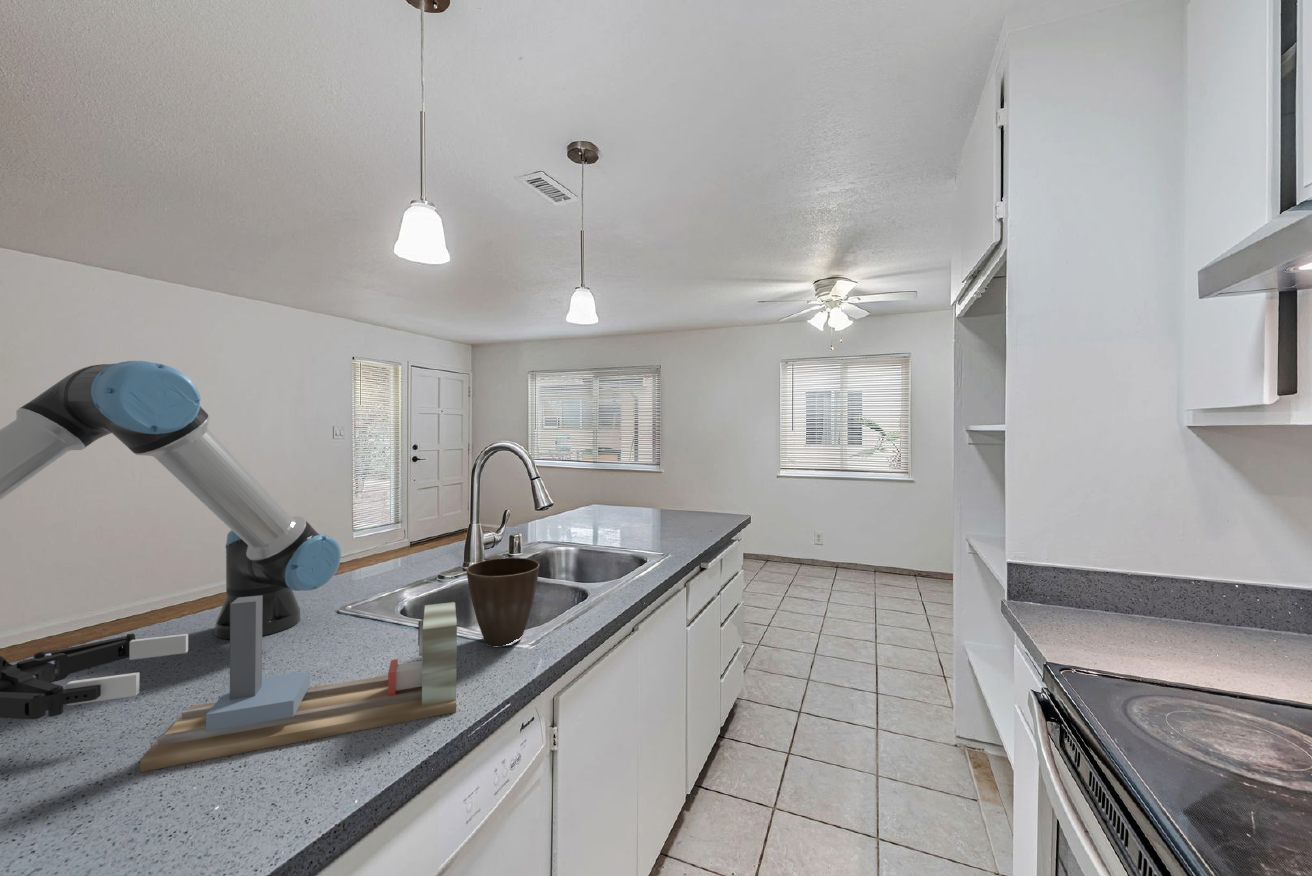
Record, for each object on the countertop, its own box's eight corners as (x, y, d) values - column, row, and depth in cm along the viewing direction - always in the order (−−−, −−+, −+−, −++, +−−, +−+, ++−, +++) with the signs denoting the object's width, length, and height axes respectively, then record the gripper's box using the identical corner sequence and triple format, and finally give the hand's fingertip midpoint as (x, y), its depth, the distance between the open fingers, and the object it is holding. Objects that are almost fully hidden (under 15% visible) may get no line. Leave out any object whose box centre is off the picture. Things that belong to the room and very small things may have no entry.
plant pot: (492, 662, 97) (493, 580, 97) (451, 642, 107) (452, 567, 107) (552, 639, 109) (553, 565, 109) (511, 622, 118) (512, 554, 118)
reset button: (391, 683, 85) (391, 659, 85) (436, 676, 88) (436, 653, 87) (388, 698, 80) (388, 673, 80) (436, 689, 83) (436, 665, 83)
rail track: (189, 716, 78) (190, 629, 78) (454, 673, 93) (454, 600, 93) (140, 772, 65) (141, 668, 65) (456, 712, 80) (457, 627, 80)
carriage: (233, 696, 78) (234, 591, 78) (309, 685, 82) (310, 585, 82) (206, 732, 69) (207, 613, 69) (293, 716, 73) (294, 604, 73)
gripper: (20, 675, 74) (202, 652, 83) (-169, 783, 51) (110, 737, 60) (20, 624, 74) (203, 607, 83) (-168, 710, 51) (111, 674, 60)
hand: (165, 661), depth 71 cm, fingers open, 13 cm apart
